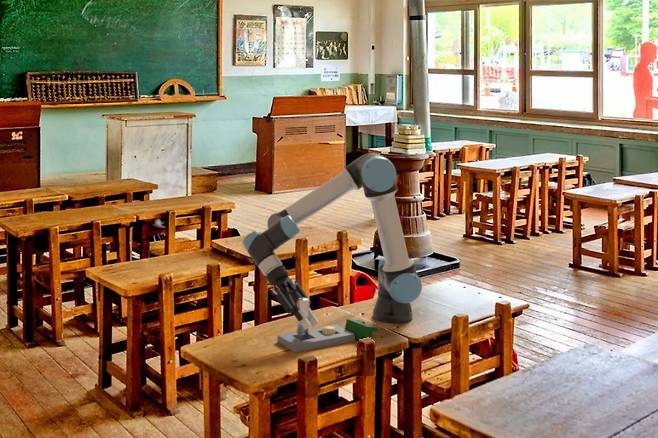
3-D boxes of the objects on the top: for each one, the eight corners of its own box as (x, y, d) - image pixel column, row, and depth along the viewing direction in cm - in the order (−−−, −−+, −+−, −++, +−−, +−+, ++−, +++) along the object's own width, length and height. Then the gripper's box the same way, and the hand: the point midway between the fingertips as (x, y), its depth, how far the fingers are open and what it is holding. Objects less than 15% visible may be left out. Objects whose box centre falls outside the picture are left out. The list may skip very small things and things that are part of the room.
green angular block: (371, 351, 288) (382, 330, 285) (358, 350, 284) (370, 330, 281) (353, 330, 296) (364, 310, 293) (341, 329, 292) (352, 309, 289)
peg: (304, 330, 283) (305, 297, 281) (310, 333, 280) (311, 300, 278) (294, 332, 281) (295, 298, 279) (300, 335, 278) (301, 301, 276)
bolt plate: (336, 331, 295) (336, 320, 295) (354, 340, 285) (355, 329, 285) (277, 341, 283) (277, 330, 282) (294, 352, 273) (294, 340, 272)
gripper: (282, 272, 293) (319, 325, 287) (252, 281, 279) (290, 338, 273) (294, 260, 289) (332, 313, 283) (264, 269, 275) (303, 325, 269)
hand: (312, 325), depth 278 cm, fingers closed on peg, 4 cm apart
